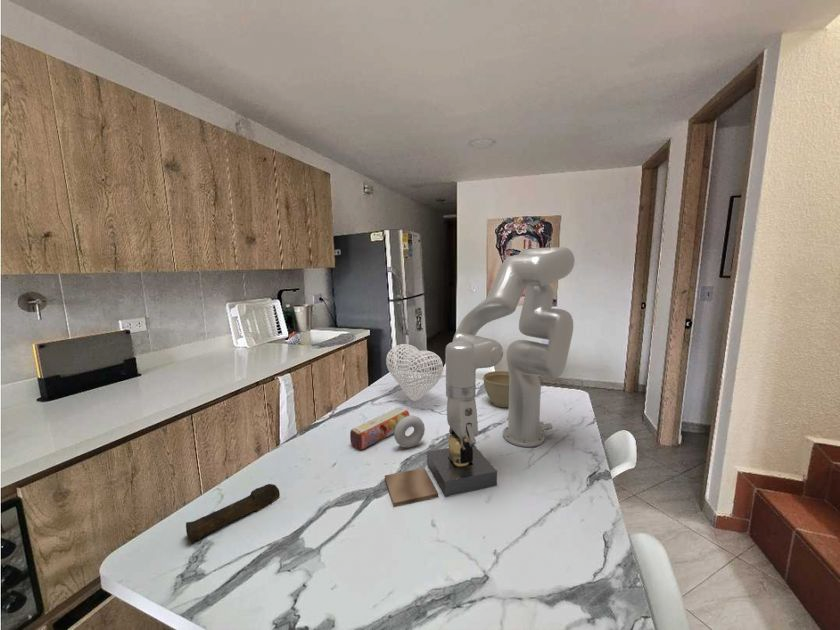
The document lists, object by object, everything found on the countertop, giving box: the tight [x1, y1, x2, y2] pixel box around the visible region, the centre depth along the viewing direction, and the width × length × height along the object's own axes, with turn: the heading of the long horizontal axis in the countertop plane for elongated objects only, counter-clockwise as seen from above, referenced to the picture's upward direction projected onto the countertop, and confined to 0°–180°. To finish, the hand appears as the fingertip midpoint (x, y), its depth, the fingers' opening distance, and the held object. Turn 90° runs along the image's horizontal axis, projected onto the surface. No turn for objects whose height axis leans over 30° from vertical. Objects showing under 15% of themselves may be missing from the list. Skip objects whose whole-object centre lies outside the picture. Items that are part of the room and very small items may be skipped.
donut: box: [393, 415, 426, 448], centre depth 106 cm, size 10×4×10 cm, turn 116°
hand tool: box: [185, 483, 280, 544], centre depth 77 cm, size 19×4×5 cm, turn 132°
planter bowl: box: [482, 370, 509, 408], centre depth 137 cm, size 16×16×11 cm
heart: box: [385, 343, 444, 402], centre depth 140 cm, size 28×16×22 cm, turn 36°
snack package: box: [349, 406, 411, 451], centre depth 113 cm, size 21×7×7 cm, turn 137°
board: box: [384, 467, 439, 508], centre depth 87 cm, size 11×11×1 cm
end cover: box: [448, 433, 469, 468], centre depth 91 cm, size 6×6×10 cm
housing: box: [426, 444, 498, 498], centre depth 92 cm, size 14×14×4 cm
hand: (460, 454), depth 91 cm, fingers closed on end cover, 6 cm apart
